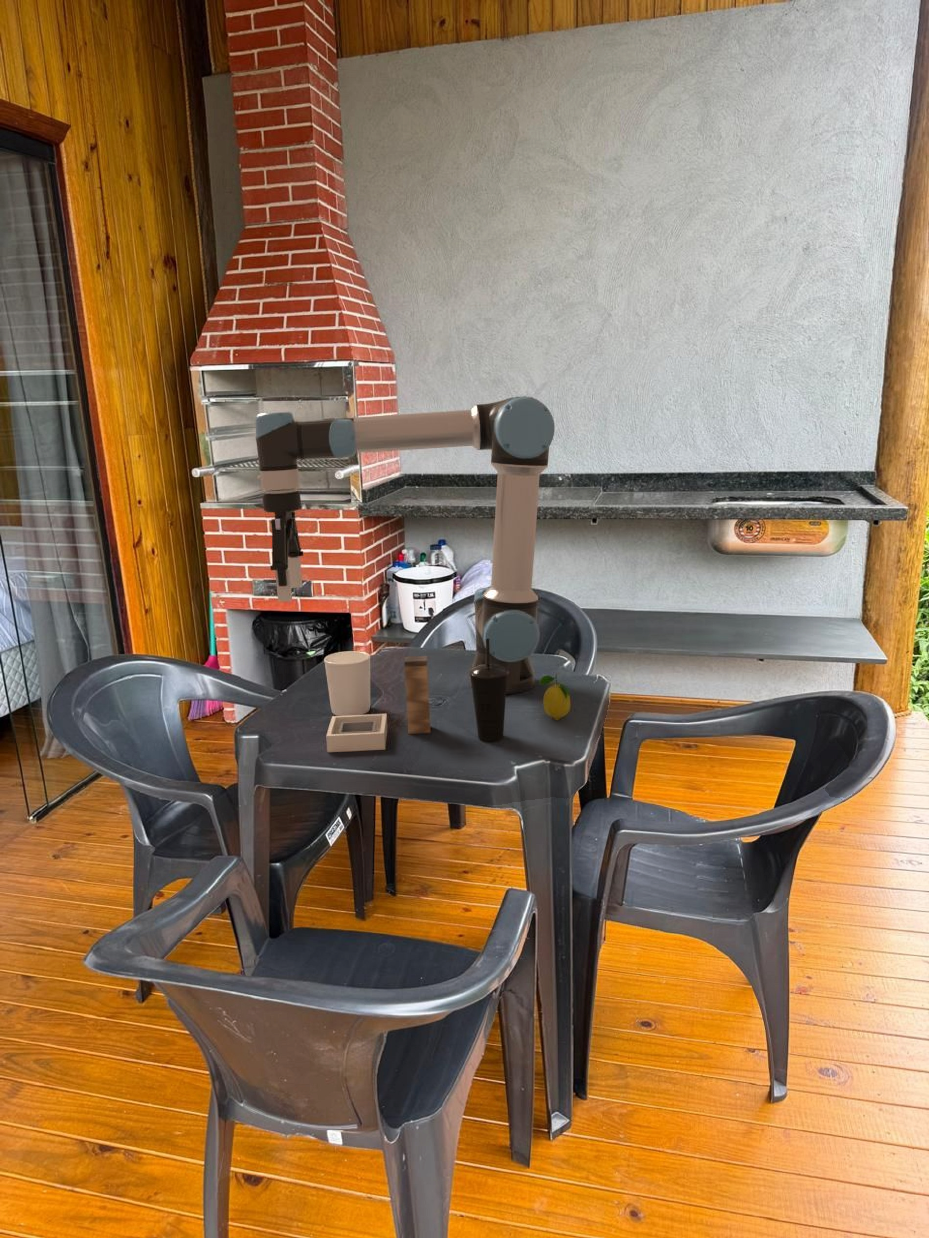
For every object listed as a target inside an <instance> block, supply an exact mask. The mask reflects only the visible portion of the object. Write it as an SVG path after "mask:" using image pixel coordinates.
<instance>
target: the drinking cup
mask: <svg viewBox="0 0 929 1238" xmlns="http://www.w3.org/2000/svg"><path fill="white" fill-rule="evenodd" d="M486 663H487V664H482V665H479V666H477V667H474V668H472V667H471V668H470V669H469V671H468V675H469V678H470V677H471V684H472V688H471V690H472V698H473V707H474V713H475V722H476V728H477V734H478V735H477V737H478V739H479V741H482V742H486V743H494V742H499V741H502V740H503V738H504V729H505V728H504V727H505V726H504V725H505V714H506V713H505V712H506V696H507V694H506V683H507V675H508V669H507V668H505V667H502V666H499V665H496V664H490V646H489V639H486Z"/></svg>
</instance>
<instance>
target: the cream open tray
mask: <svg viewBox="0 0 929 1238" xmlns="http://www.w3.org/2000/svg"><path fill="white" fill-rule="evenodd" d="M388 728H389V727H388V716H387V713H371V714H369V713H368V714H362V715H348V716H337V715H335V716H334V715H333V716H331V719H330V722H329V726H328V729H327V733H326V734H325V735H326V736H325V737H326V740H325V741H326V751H327V753H337V752H338V753H342V752H360V751H382V750H386V746H387V745H386V744H387V736H388Z"/></svg>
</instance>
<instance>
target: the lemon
mask: <svg viewBox="0 0 929 1238" xmlns="http://www.w3.org/2000/svg"><path fill="white" fill-rule="evenodd" d="M554 682H555V684H553V685H551V686H549V687H548V688H547V690H546V691H545V693H544V695H543V699H542V704H543V710H544V711H545V713H546V714H547V715H548V716H549V717H552V718H553V719H554V720H555V721H559V720H560V719H561V718H563V717H565V716H567V714H568V713H569V712H570V710H571V700H572V697H571V694H570V692H569V691H568V689H567V688H566V687H565V686H564V684H562V683H559V682H558V673H556V674H555V677H552V676H551V675H544V676H542V677H541V678H540V680H539V682H538V685H540V686H545V685H549V684H552V683H554Z"/></svg>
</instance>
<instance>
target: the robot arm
mask: <svg viewBox="0 0 929 1238" xmlns="http://www.w3.org/2000/svg"><path fill="white" fill-rule="evenodd" d="M254 421H255V422H254V423H255V442H256V450H257V456H258V457H257V458H258V459H257V460H258V467H259V468H258V469H259V474H260V475H258V476H257V480H259V481H260V484H261V485H260V486H261V490H262V491H264V493H262V497H261V499H262V505H263V511H264V512H265V513H274V518H272V519H271V521H270V523H271V541H272V542H271V548H272V549H271V552H272V553H271V554H272V555H271V556H272V557H271V559H272V563H271V565H270V566H269V567H270V571H274V574H275V583H276V584H275V585H276V591H277V592H276V593H277V602H278V603H285V602H286V603H287V602H290V603H291V602H293V592H292V589H299V588H303V587H304V586H303V584H304V583H303V575H302V565H301V557H303V556H304V551H303V550H302V548H301V542H300V536H299V531H298V528H297V526H298V525H297V521H296V512H295V511H300V510H301V509H302V500H301V492H300V491H299V490H298V489H299V488H300V486H301V485H300V475H299V474H300V473H299V467H298V461H299V460H300V461H303V460H324V459H327V460H328V459H338V460H339V459H340V460H341V459H343V458H344V459H345V458H353V457H354V456H355V455H356V454H365V453H378V452H380V453H381V452H392V451H393V452H396V451H411V450H425V449H428V450H429V449H443V448H455V447H456V448H457V447H473V448H474V449H476V450H477V451H483V450H490V451H491V457H490V464H491V466H492V467H493V468H494V469H495V471H496V473H497V480H496V481H497V483H496V497H495V513H494V529H493V530H494V532H493V544H492V545H493V547H492V563H491V580H490V581H491V582H490V586H489V587H481V588H477V589H476V590H475V592H474V596H473V597H474V598H473V599H474V600H473V604H474V619H475V620H474V623H475V625H474V626H475V629H474V630H475V656H474V658H473V659H474V660H473V662H472V667H471V669H472V668H474V667H477V666H479V665H482V664H487V663H486V639H489V646H490V664H496V665H499V666H502V667H505V668H507V669H508V675H507V683H506V695H508V694H509V695H510V694H516V693H522V692H525V691H527V690H530V689H532V688H534V687H535V684H536V680H535V679H536V678H535V677H536V675H535V672H534V669H533V666H532V663H531V660H530V657H529V656H530V655H532V654H533V652H534V651H535V650H536V648H537V646H538V644H539V641H540V627H539V625H538V621H537V619H538V605H539V604H538V603H539V596H538V595H537V594H536V593H535V591H533V588H532V587H533V575H534V574H533V573H534V572H533V571H534V562H535V561H534V559H535V545H536V544H535V543H536V530H537V520H538V519H537V516H538V504H539V503H538V502H539V488H540V475H541V474H542V472H544V471H545V470H546V469H547V468H548V467H549V466H548V465H549V456H550V455H549V453H550V446H551V444H552V441H554V436H555V426H556V425H555V420H554V417H553V415H552V413H551V411H550V410H549V408H548V407H547V406H546V404H544V403H543V402H541V400H538V399H537V398H534V397H531V396H526V395H524V396H515V397H508V398H506V399H503V400H499V401H495V402H489V403H483V404H482V403H481V404H480V403H479V404H474V405H473V406H472V408H471V409H466V410H465V409H463V410H449V411H448V410H447V411H436V412H435V411H433V412H421V413H420V412H419V413H404V414H402V413H401V414H389V415H386V414H385V415H376V416H375V415H374V416H373V415H372V416H371V415H370V416H358V417H357V416H356V417H346V418H345V417H343V418H342V417H341V418H334V417H332V418H324V419H322V420H321V419H320V420H310V421H309V420H308V421H298V420H295V418H294V416H293V413H292V412H290V411H284V412H283V411H282V412H281V411H280V412H262V413H258V414H257V415H256V417H255V419H254ZM469 687H470V688H471V689H472V684H471V677H470V676H469Z"/></svg>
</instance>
